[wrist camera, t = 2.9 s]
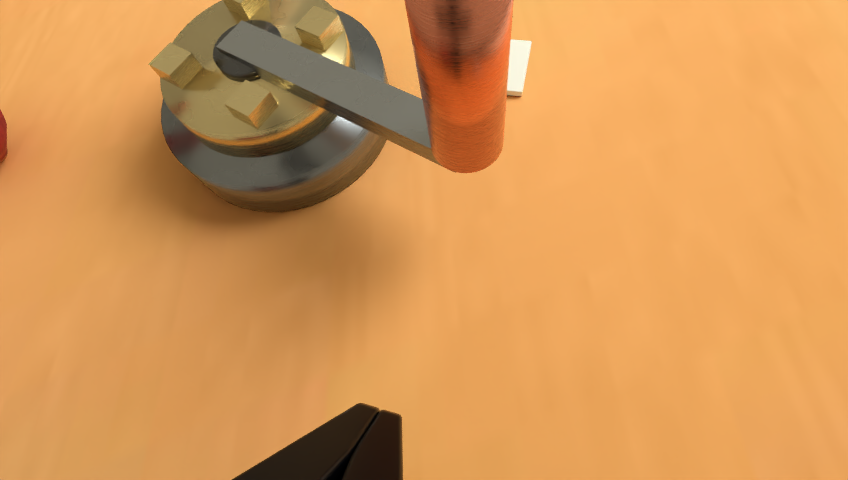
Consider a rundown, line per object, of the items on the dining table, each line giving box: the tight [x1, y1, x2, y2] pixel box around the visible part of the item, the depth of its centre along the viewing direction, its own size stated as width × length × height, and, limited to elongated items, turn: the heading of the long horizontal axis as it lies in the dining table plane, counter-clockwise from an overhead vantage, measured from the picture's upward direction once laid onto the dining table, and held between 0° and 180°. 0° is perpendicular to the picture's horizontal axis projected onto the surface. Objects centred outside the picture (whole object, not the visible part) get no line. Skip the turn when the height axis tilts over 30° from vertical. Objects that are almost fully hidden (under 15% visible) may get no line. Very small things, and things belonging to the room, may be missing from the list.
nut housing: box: [161, 9, 389, 212], centre depth 27 cm, size 13×13×3 cm
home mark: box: [507, 40, 531, 96], centre depth 28 cm, size 4×4×1 cm
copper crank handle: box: [149, 0, 513, 173], centre depth 19 cm, size 20×10×12 cm, turn 57°
